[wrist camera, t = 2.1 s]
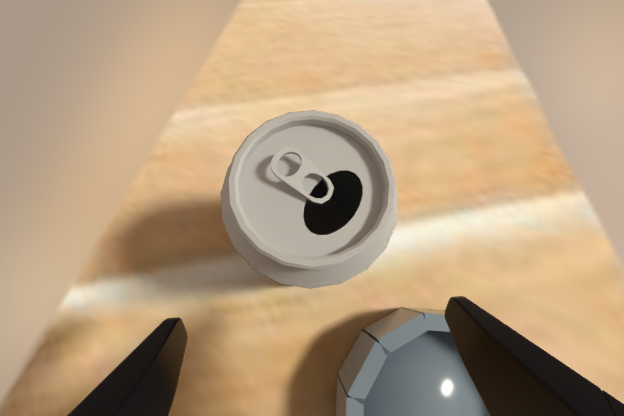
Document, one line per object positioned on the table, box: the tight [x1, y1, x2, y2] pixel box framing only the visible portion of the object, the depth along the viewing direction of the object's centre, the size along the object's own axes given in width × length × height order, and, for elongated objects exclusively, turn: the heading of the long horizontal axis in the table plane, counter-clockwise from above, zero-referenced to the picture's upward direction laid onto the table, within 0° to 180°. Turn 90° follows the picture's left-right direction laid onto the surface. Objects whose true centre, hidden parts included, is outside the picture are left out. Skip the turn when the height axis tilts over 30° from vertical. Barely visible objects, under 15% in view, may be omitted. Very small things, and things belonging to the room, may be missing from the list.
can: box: [221, 110, 398, 289], centre depth 15 cm, size 8×8×12 cm
